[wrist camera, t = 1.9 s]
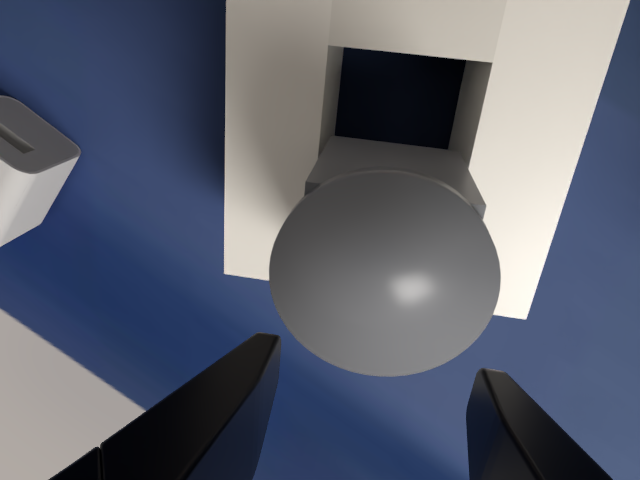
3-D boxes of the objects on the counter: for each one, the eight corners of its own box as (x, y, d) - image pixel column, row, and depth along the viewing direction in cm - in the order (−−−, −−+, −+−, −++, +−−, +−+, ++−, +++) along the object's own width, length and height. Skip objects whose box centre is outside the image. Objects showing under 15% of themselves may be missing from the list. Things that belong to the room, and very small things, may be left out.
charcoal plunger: (483, 134, 15) (529, 191, 10) (448, 282, 17) (470, 392, 12) (314, 113, 15) (274, 159, 10) (301, 261, 17) (264, 357, 12)
